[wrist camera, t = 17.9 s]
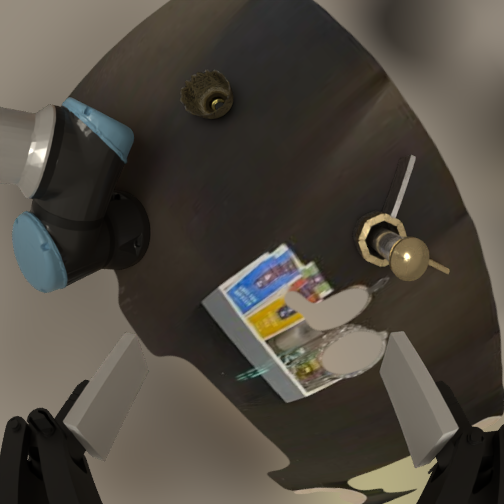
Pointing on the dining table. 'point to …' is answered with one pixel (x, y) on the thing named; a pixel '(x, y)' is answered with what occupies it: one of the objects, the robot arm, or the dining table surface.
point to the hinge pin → (400, 252)
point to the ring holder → (388, 216)
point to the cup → (207, 94)
